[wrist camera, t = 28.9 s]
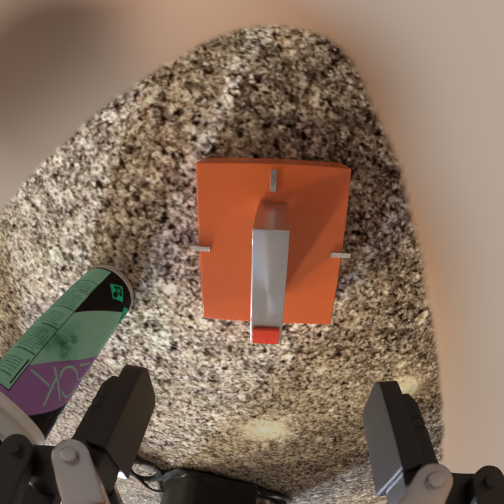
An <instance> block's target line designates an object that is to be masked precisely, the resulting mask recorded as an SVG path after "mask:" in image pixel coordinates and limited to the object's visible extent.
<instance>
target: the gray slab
mask: <svg viewBox="0 0 504 504" xmlns="http://www.w3.org/2000/svg"><path fill="white" fill-rule="evenodd" d="M289 235H290V230H289V221H288V212H287V203H284V202H261V201H259V203H258V207H257V211H256V216H255V220H254V224H253V229H252V270H251V322H250V342H251V343H264V344H281V336H282V325H283V314H284V302H285V290H286V277H287V264H288V250H289Z"/></svg>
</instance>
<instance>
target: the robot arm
mask: <svg viewBox="0 0 504 504" xmlns="http://www.w3.org/2000/svg"><path fill="white" fill-rule="evenodd" d="M154 407H155V393H154V390H153V386H152V383H151V379H150V376H149V372H148V370H147V368H144V367H138V366H133V365H125V366H124V368H123V370H122V371H121V373H120V375H119V377H117V376H111V377H110V378H109V379H108V380H107V381H105V382H104V383H103V384H102V385H101V387H100V389H99V391H98V392H97V394H96V397H95V398H94V399H93V401H92V405H90V406H89V408H88V410H87V412H86V414H85V416H84V417H83V419H82V421H81V423H80V425H79V427H78V428H77V430H76V432H75V434H74V436H73V437H72V438H71V439H68V440H64V441H61V442H60V443H58V444H57V445H56V446H46V445H36V444H32V443H31V441H30V440H29V439H28V438H27V437H26V436H24V435H22V434H12V435H10V436H8V437H7V438H6V439H5V440H4V441H3V443H2V444H1V446H0V504H60V503H61V501H62V504H123V502H122V499H121V497H120V495H119V492H118V490H117V487H116V485H115V483H116V480H117V477H118V476H119V477H122V478H125V479H128V477H129V475H130V472H131V469H132V466H133V464H134V461H135V458H136V455H137V453H138V450H139V447H140V445H141V442H142V439H143V437H144V434H145V431H146V429H147V426H148V424H149V421H150V418H151V416H152V413H153V410H154ZM363 425H364V430H365V435H366V440H367V445H368V451H369V456H370V462H371V467H372V473H373V479H374V485H375V492H376V497H378V496H384V495H386V496H387V503H386V504H504V475H503V473H502V472H501V471H500V469H498V468H497V467H495V466H484V467H482V468H481V469H480V470H478V471H477V472H476V473H475V474H460V473H451V472H450V471H449V469H448V468H447V467H445V466H443V465H441V464H439V463H438V461H437V459H436V456H435V453H434V449H433V446H432V443H431V440H430V437H429V434H428V431H427V429H426V427H425V423H424V420H423V417H421V412H420V409H419V406H418V404H417V402H416V401H415V400H414V399H413V398H412V397H411V396H410V395H409V394H402V392H401V390H400V387H399V384H398V382H397V381H383V382H376V383H375V384H374V386H373V388H372V391H371V393H370V395H369V398H368V400H367V403H366V405H365V407H364V411H363Z"/></svg>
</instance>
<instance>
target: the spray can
mask: <svg viewBox="0 0 504 504" xmlns="http://www.w3.org/2000/svg"><path fill="white" fill-rule="evenodd" d="M133 301H134V292H133V288H132V286H131V284H130V282H129V280H128V279H127V278H126V276H125V275H124V274H123V273H122V272H121V271H119V270H118V269H116V268H115V267H112V266H110V265H106V264H100V265H96V266H94V267H92V268H91V269H90V270H89V271H88V272H86V273H85V274H84V275H83V276H82V277H81V278H80V279H79V280H78V281H77V282H76V283H75V284H74V285H72V286H71V287H70V288H69V289H68V290H67V291H66V292H65V293H64V294H63V295H62V296H61V297H60V298H59V299H58V300H57V301H56V302H55V303H54V304H53V305H52V306H51V307H50V308H49V309H48V310H47V311H46V312H45V313H44V314H43V315H42V316H41V317H40V318H39V319H38V320H37V321H36V322H35V323H34V324H33V325H32V326H31V327H30V328H29V329H28V330H27V331H26V332H25V334H24V335H23V336H22V337H21V338H20V339H19V340H18V341H17V342H16V343H15V344H14V345H13V346H12V348H11V349H10V350H9V351H8V352H7V353H6V354H5V355H4V357H3V358H2V359H1V360H0V446H1V444H2V443H3V441H4V440H5V439H6V438H7V437H8V436H10V435H12V434H22V435H24V436H26V437H27V438H28V439H29V440H30V441H31V443H32V444H36V445H43V444H44V442H45V440H46V438H47V437H48V435H49V433H50V431H51V430H52V428H53V426H54V425H55V423H56V421H57V420H58V418H59V416H60V415H61V413H62V411H63V410H64V408H65V406H66V405H67V403H68V401H69V400H70V398H71V397H72V395H73V393H74V392H75V390H76V389H77V387H78V385H79V384H80V382H81V381H82V379H83V378H84V376H85V374H86V373H87V371H88V370H89V368H90V367H91V365H92V364H93V362H94V361H95V359H96V358H97V356H98V355H99V353H100V352H101V350H102V349H103V347H104V346H105V344H106V343H107V341H108V340H109V338H110V337H111V335H112V334H113V332H114V331H115V330H116V328H117V327H118V325H119V324H120V322H121V321H122V319H123V318H124V317H125V315H126V314H127V312H128V311H129V310H130V308H131V306H132V304H133Z"/></svg>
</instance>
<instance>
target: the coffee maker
mask: <svg viewBox="0 0 504 504" xmlns="http://www.w3.org/2000/svg"><path fill="white" fill-rule="evenodd" d="M134 464H143V465H147V466H149V467H151V468H153V469H154V470H155V471H156V474H155V475H153V476H141V475H138V474H136V473H135V472H134V471H133V470H132V469H131V472H130V475H131V476H132V477H134V478H137V479H138V480H139V481H140V482H141V483H142V484H143V485H144V486H145V487H147V488H148V489H150V490H152V491H155V492H159V494H160V499H161V502H160V504H289V503H291V499H290V498H288V497H287V496H285V495H282V494H278V493H274V492H270V491H266V490H263V489H260V488H258V485H255V484H247V483H243V482H238V481H234V480H230V479H226V478H222V477H218V476H214V475H210V474H205V473H200V472H198V471H190V470H183V469H181V468H175V469H174V470H171V471H168V472H166V473H164V474H163V472H162V470H161V469H160V468H159V467H158V466H157V465H156V464H154V463H152V462H150V461H147V460H145V459H141V458H135V461H134ZM144 481H148V482H153V481H157V483H158V489H159V490H155V489H152V488H150V487H149V486H148V485H147V484H146V483H145V482H144Z"/></svg>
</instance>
